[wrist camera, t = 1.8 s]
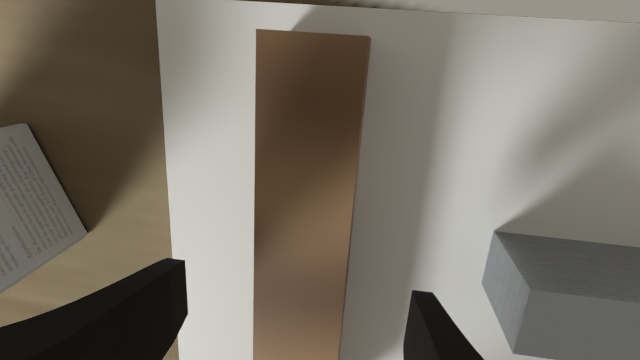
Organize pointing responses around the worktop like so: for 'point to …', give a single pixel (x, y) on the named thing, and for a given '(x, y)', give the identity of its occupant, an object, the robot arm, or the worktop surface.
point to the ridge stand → (425, 177)
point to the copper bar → (305, 188)
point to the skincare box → (30, 208)
